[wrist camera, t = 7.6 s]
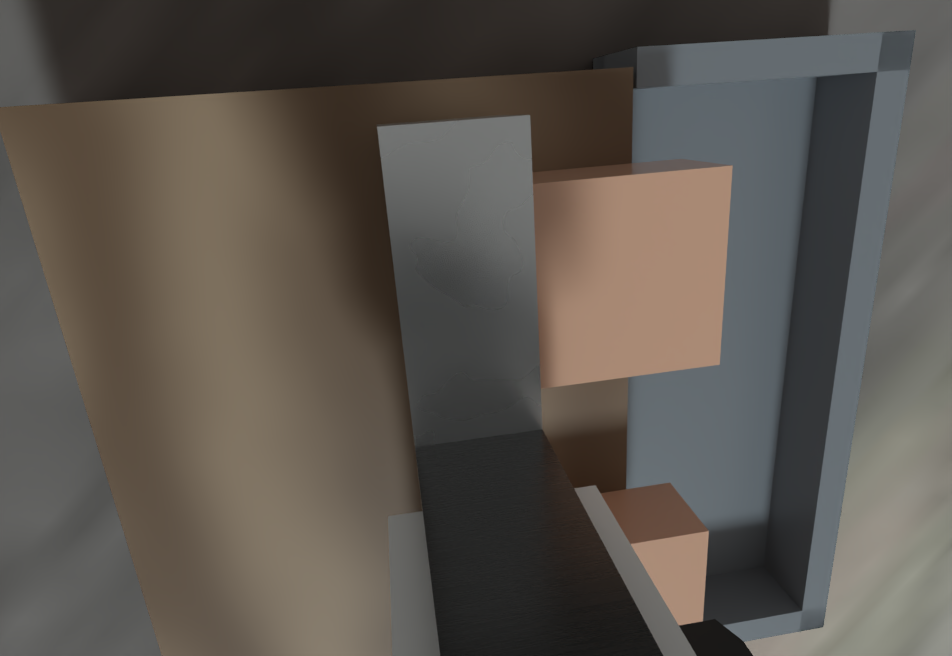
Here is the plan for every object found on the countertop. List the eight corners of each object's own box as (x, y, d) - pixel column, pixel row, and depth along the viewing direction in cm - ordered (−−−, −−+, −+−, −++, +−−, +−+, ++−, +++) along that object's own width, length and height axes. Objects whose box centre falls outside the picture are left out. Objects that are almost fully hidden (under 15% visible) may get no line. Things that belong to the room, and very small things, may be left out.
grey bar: (443, 690, 21) (525, 1374, 9) (376, 124, 15) (383, 154, 3) (530, 673, 21) (710, 1312, 10) (501, 115, 15) (878, 114, 4)
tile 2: (509, 354, 18) (531, 390, 15) (499, 174, 16) (521, 184, 14) (675, 333, 18) (719, 364, 16) (681, 158, 17) (733, 165, 14)
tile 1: (525, 629, 21) (544, 693, 19) (518, 505, 19) (538, 559, 17) (665, 604, 22) (700, 663, 19) (670, 482, 20) (709, 531, 18)
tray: (594, 595, 26) (625, 663, 23) (593, 58, 19) (637, 46, 16) (769, 565, 27) (823, 626, 24) (828, 44, 20) (915, 30, 17)
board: (218, 649, 24) (189, 746, 20) (74, 109, 18) (-7, 107, 14) (587, 587, 26) (623, 666, 22) (584, 76, 19) (633, 66, 16)
